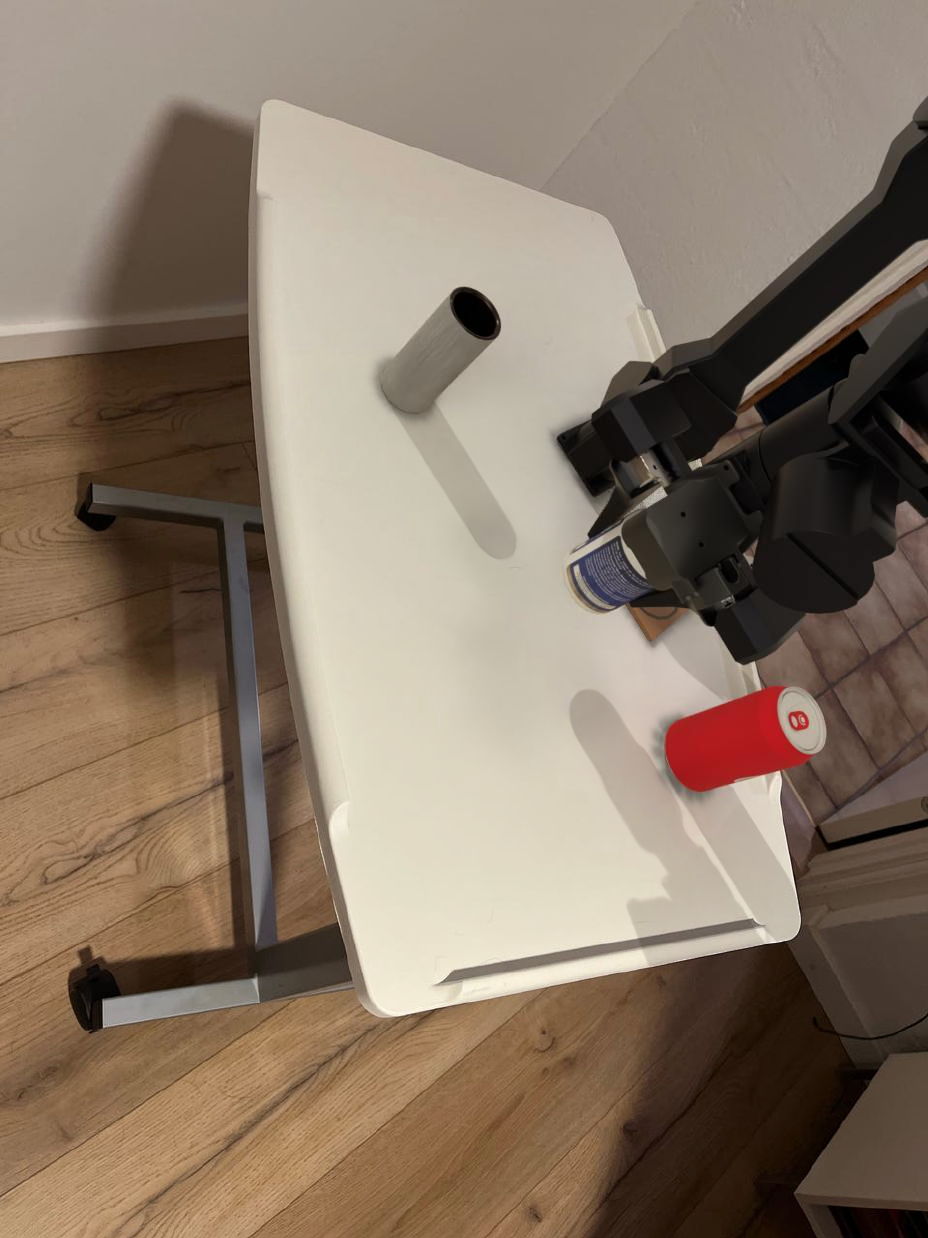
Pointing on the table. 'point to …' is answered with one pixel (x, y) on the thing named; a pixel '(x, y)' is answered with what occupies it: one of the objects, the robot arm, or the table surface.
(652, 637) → the square brown coaster
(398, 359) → the grey hollow cylinder
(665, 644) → the table surface
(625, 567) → the pill bottle
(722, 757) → the beverage can
